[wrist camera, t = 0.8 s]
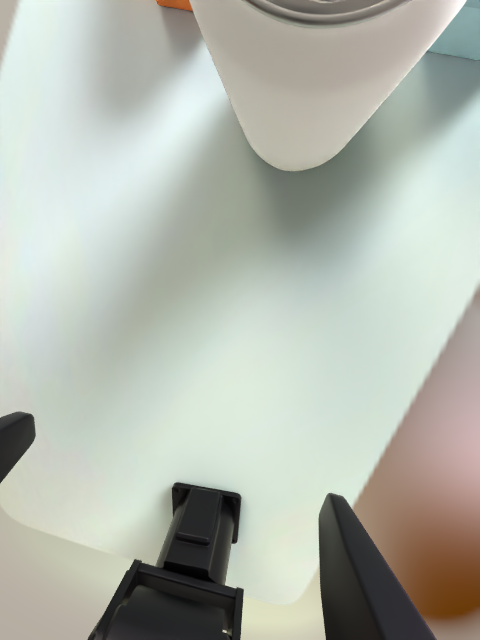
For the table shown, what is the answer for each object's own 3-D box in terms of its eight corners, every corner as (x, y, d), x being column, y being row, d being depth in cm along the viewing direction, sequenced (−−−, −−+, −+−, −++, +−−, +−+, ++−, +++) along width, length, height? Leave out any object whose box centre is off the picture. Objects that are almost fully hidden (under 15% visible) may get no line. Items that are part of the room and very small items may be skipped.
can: (240, 174, 16) (150, 72, 5) (240, 32, 14) (74, -723, 3) (354, 171, 15) (553, 40, 4) (373, 19, 13) (913, -1152, 2)
